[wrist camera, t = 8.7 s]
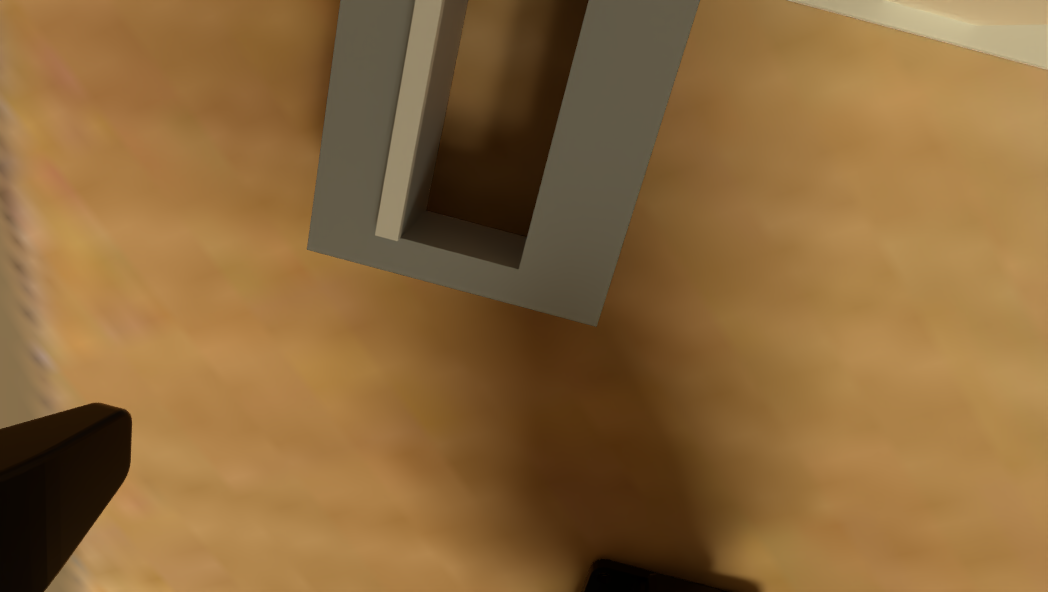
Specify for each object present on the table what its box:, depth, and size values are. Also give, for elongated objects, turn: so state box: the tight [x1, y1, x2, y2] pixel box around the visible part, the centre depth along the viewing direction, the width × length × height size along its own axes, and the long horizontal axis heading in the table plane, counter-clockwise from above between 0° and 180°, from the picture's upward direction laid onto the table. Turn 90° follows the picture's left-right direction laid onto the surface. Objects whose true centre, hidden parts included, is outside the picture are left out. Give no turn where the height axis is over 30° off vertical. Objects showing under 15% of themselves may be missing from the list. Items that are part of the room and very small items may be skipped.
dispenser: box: [307, 0, 700, 327], centre depth 18 cm, size 10×8×3 cm
